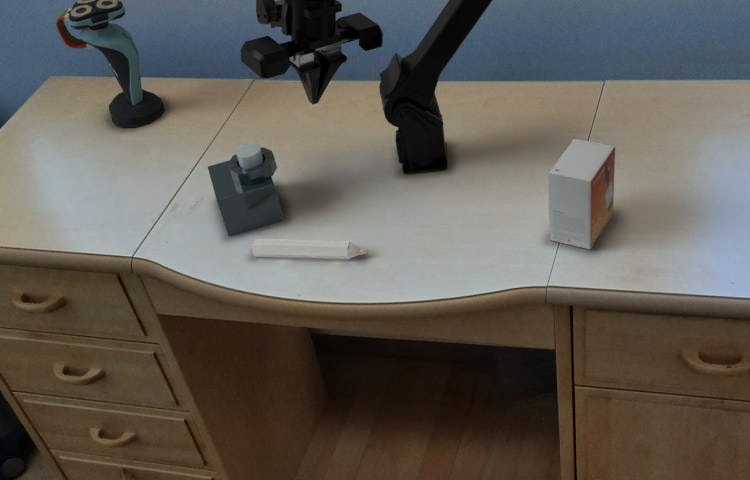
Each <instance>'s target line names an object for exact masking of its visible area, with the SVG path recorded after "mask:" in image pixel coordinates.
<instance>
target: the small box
mask: <svg viewBox="0 0 750 480" xmlns="http://www.w3.org/2000/svg"><path fill="white" fill-rule="evenodd" d="M615 159H616V147H615V146H613V145H609V144H605V143H604V144H603V143H599V142H593V141H588V140H582V139H578V138H573V139H572V140H571V141H570V143H569V145H568V147H566V149H565V150H564V152H563V153H562V155H560V157H559V158H558V160H557V161H556V162H555V163H554V165H553V166H552V168H550V170H549V171H548V172H547V188H548V193H547V194H548V226H549V227H548V228H549V240H550V241H553V242H557V243H561V244H565V245H570V246H573V247H577V248H582V249H586V250H591V249H592V248H593V246H594V244H595V242H596V241H597V240H598V238H599V236H600V235H601V233H602V231H603V230H604V228H605V227H606V226H607V224H608V223H609V222H610V220H611V218H612V217H613V215H614V195H615V171H616V170H615V165H616V160H615Z"/></svg>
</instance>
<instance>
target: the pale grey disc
mask: <svg viewBox="0 0 750 480" xmlns="http://www.w3.org/2000/svg"><path fill="white" fill-rule="evenodd" d="M260 147H261V146H260V145H259V144H258V143H254V142H248V143H245V144H242V145H241V146H239V147H238V148H237V149H236V150H235V154H236V156H237V159H238V162H239V166H240V167H241V168H242V169H251V168H255V167H258V166H259V165H261V164H262V163H263V161H264V159H263V155H262V152H261V148H260Z"/></svg>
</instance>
